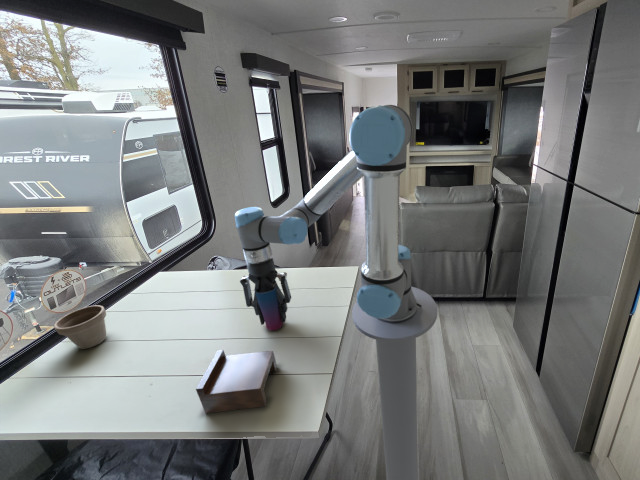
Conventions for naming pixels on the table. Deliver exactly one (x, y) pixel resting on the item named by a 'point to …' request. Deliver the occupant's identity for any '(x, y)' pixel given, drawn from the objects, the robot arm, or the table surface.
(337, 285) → the table surface
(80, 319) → the flower pot
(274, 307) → the cup
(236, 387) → the brown stepped block
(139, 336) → the table surface
